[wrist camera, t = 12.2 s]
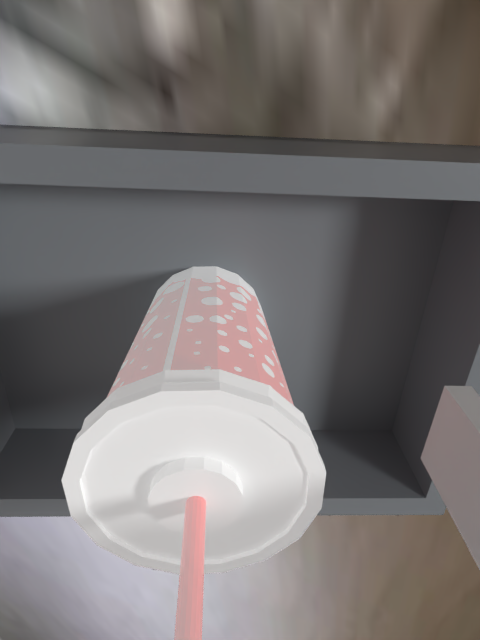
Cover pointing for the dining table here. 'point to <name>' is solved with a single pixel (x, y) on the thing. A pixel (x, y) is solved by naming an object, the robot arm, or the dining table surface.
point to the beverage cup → (196, 444)
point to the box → (254, 268)
